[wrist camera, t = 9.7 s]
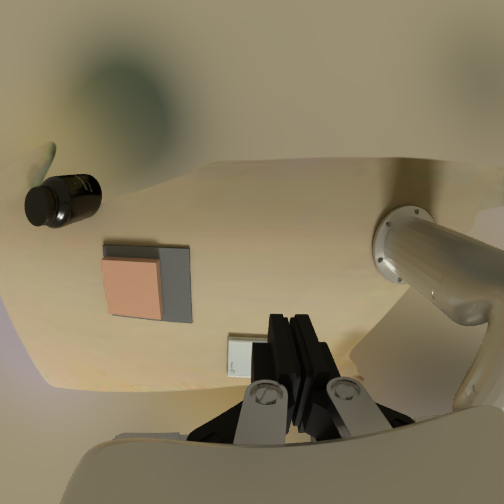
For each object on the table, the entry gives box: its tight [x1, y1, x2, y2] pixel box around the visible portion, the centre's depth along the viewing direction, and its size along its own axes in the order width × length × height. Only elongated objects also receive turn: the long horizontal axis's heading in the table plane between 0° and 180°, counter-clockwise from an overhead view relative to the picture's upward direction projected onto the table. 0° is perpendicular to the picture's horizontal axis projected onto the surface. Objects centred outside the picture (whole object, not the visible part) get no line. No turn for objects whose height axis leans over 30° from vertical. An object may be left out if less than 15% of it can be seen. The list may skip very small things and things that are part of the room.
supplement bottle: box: [24, 174, 102, 228], centre depth 30 cm, size 7×7×12 cm
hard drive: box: [227, 336, 268, 378], centre depth 44 cm, size 2×8×12 cm
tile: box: [101, 256, 164, 320], centre depth 39 cm, size 2×9×9 cm
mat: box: [103, 245, 192, 323], centre depth 40 cm, size 14×12×1 cm
